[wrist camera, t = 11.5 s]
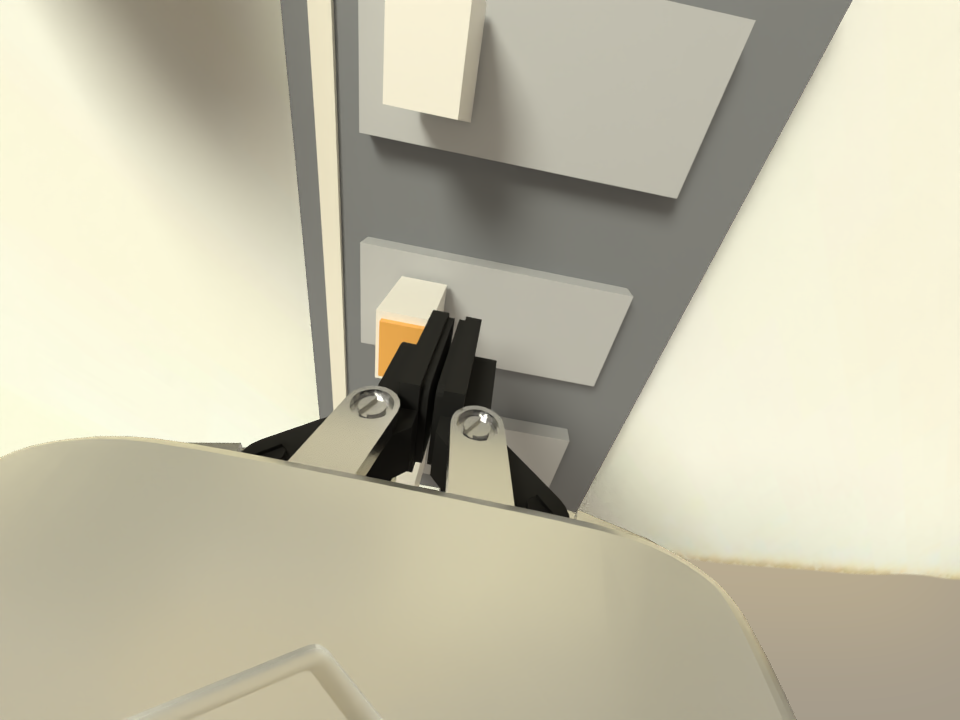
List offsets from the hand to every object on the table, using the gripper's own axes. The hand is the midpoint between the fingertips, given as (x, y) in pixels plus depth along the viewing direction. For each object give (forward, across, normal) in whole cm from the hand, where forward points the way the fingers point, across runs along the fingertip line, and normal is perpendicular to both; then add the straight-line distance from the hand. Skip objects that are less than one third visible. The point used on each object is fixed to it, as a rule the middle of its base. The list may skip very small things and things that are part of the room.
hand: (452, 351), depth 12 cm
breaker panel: (+8, -1, +1) cm, 8 cm away
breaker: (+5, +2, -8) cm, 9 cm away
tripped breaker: (+4, +2, +1) cm, 5 cm away
